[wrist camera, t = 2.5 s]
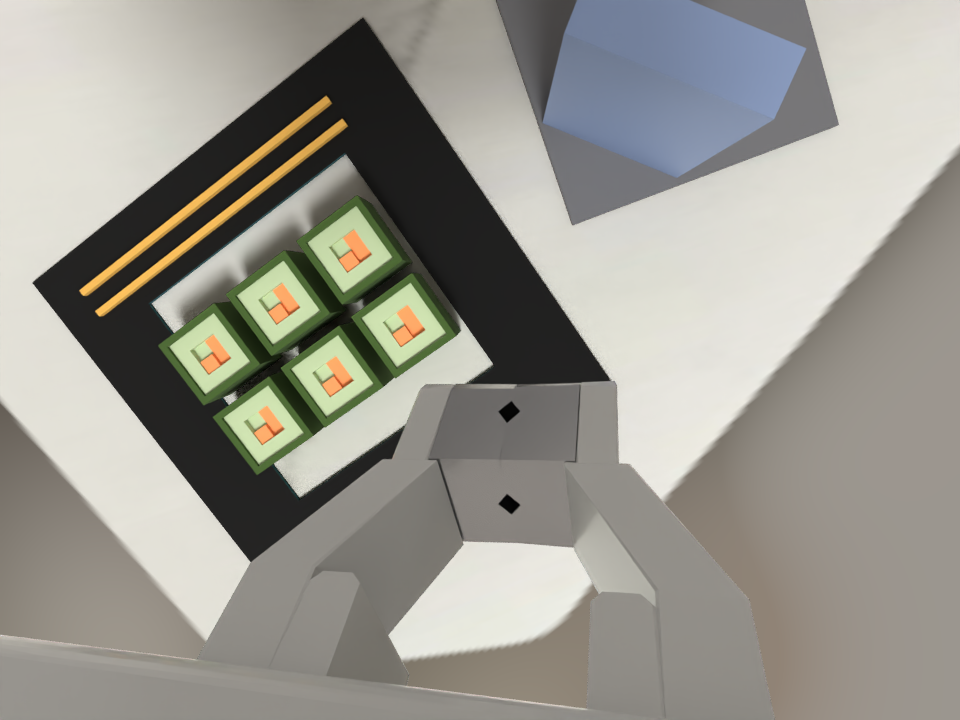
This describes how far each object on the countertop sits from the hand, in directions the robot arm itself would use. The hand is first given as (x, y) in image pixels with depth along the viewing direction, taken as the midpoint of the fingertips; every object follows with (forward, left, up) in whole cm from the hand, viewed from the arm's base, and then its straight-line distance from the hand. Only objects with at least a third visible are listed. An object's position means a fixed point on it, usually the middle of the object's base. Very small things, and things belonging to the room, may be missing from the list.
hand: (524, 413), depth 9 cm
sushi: (-3, -11, -25) cm, 27 cm away
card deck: (-8, +9, -23) cm, 26 cm away
